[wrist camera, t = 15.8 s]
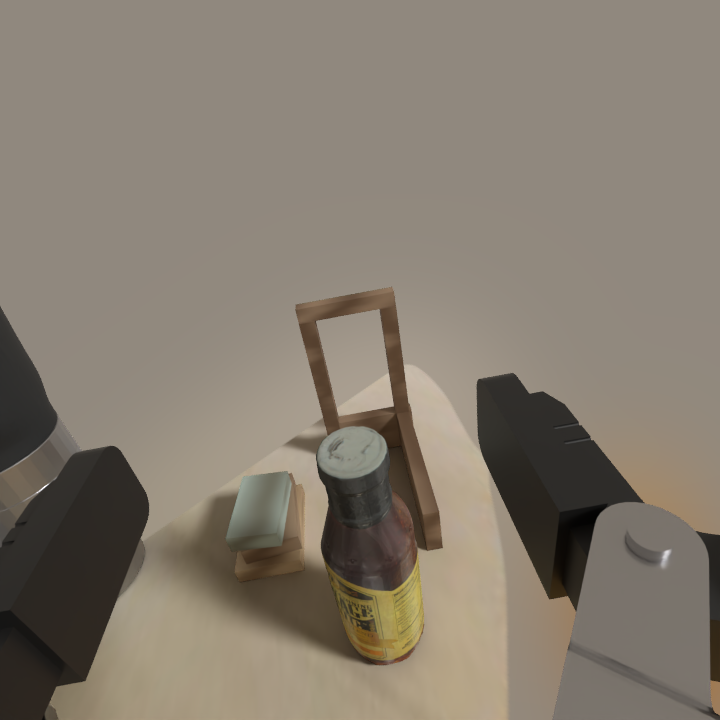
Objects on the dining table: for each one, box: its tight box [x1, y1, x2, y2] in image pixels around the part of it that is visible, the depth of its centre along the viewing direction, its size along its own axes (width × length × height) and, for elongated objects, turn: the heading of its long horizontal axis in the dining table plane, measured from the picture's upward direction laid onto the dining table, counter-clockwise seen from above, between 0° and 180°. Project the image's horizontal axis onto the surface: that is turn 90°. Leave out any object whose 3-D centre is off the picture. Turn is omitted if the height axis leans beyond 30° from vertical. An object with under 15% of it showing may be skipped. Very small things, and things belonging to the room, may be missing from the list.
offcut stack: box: [225, 471, 305, 582], centre depth 43 cm, size 6×9×5 cm
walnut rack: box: [295, 287, 443, 551], centre depth 42 cm, size 10×15×20 cm, turn 6°
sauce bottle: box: [316, 426, 424, 665], centre depth 30 cm, size 6×6×20 cm
